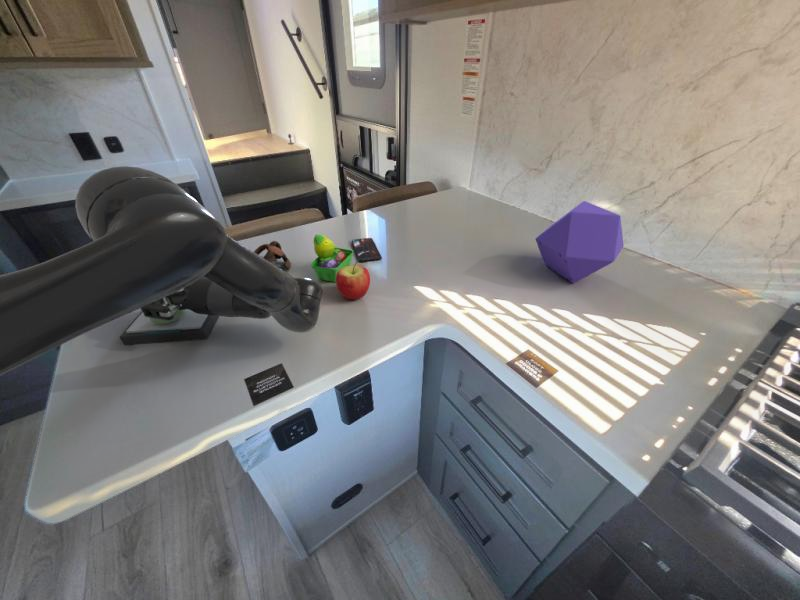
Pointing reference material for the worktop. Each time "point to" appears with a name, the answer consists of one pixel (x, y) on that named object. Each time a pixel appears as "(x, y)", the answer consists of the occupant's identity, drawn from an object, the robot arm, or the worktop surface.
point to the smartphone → (366, 249)
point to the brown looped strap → (273, 253)
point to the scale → (169, 329)
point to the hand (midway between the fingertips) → (146, 290)
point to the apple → (353, 281)
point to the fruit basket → (329, 258)
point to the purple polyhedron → (581, 241)
